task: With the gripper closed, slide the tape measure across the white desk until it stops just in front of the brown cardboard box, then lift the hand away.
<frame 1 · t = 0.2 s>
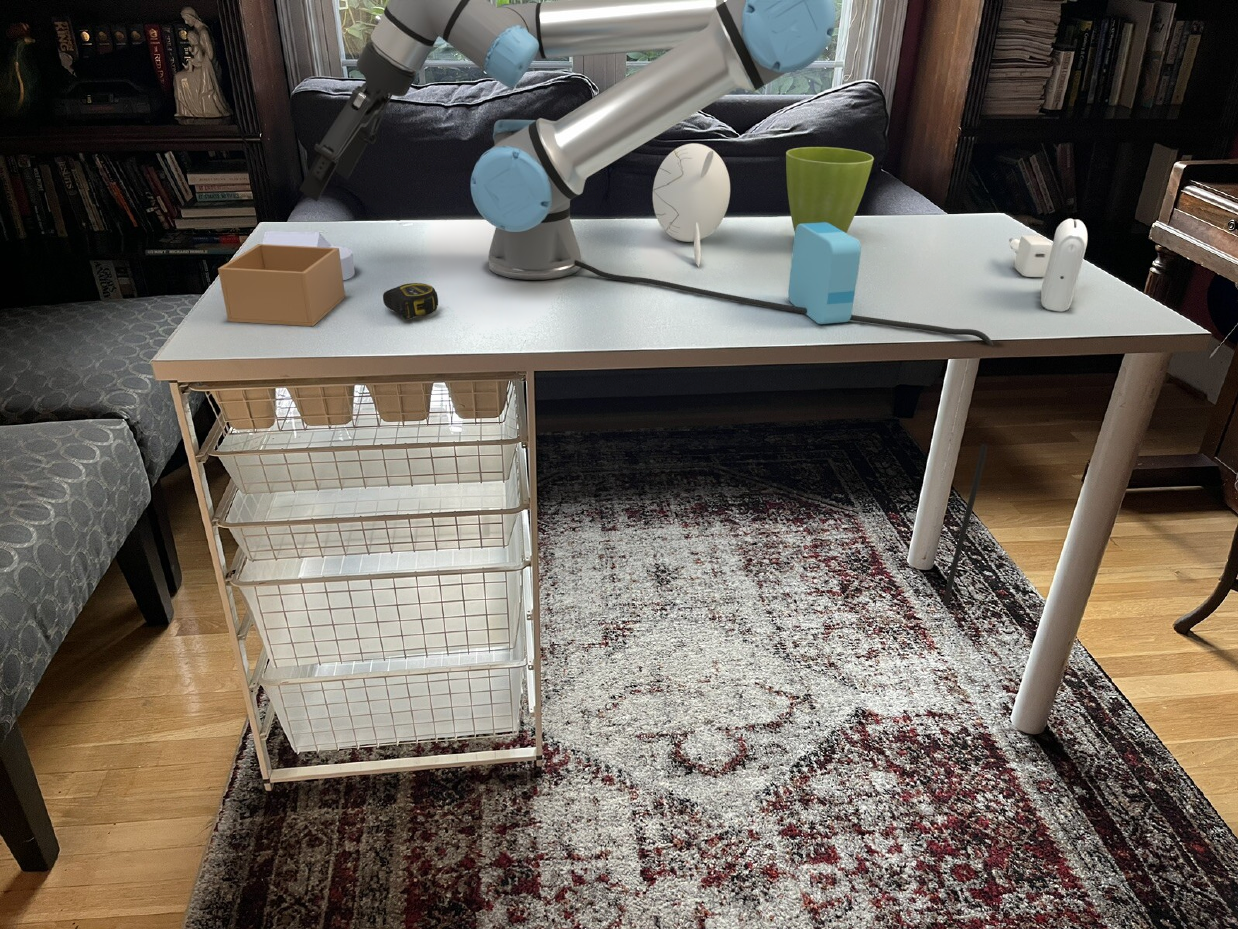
hand: (324, 183, 135), 15 cm above the table, tool tilted 35°, fingers open, 13 cm apart
box: (288, 309, 132), on the table
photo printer: (1054, 302, 142), on the table
wedge on round base: (313, 275, 146), on the table
power adapter: (1023, 269, 157), on the table
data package: (817, 313, 135), on the table
tape measure: (411, 317, 131), on the table
cracked egg ornament: (690, 246, 165), on the table
flower pot: (818, 247, 166), on the table
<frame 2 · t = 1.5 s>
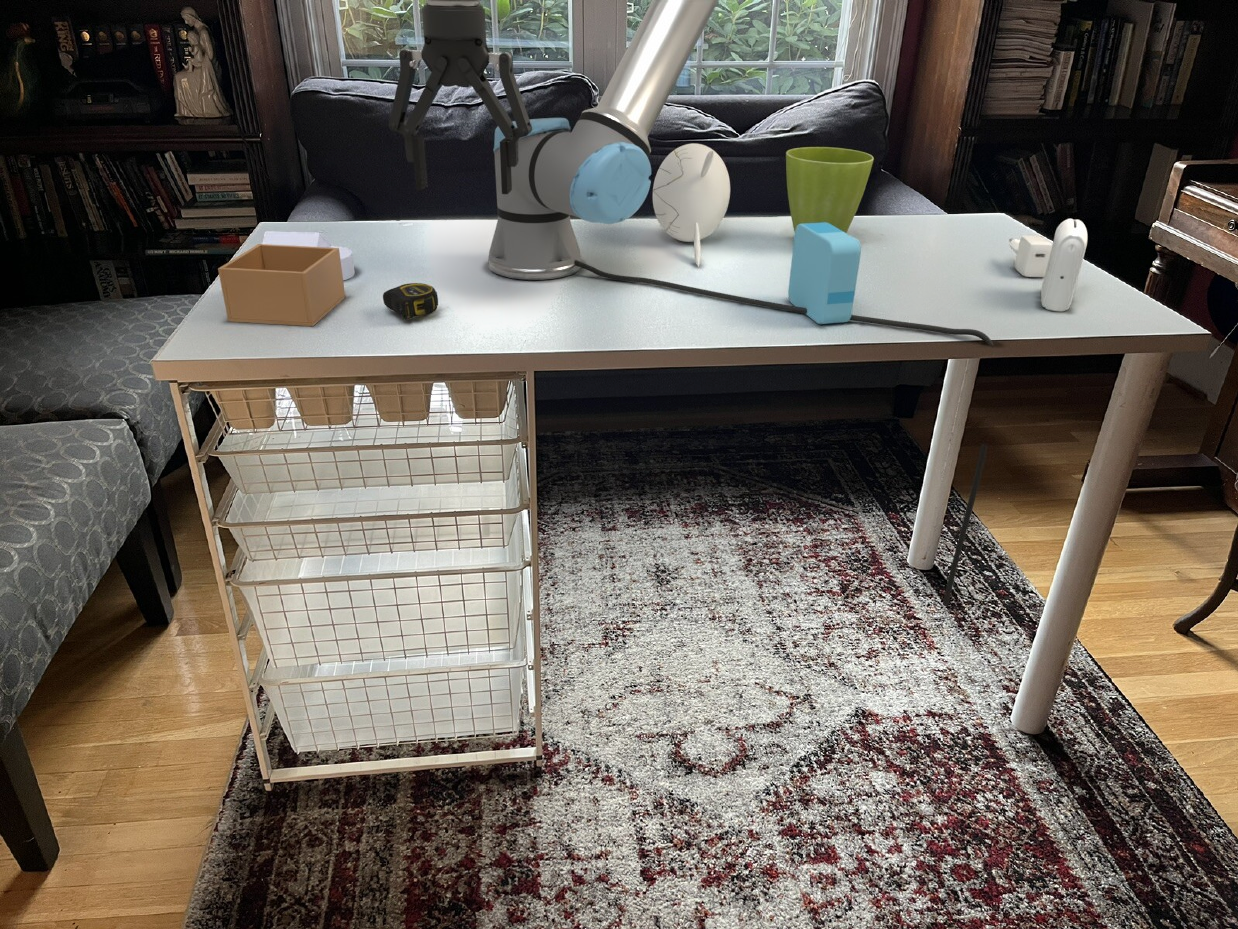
hand: (464, 189, 121), 18 cm above the table, tool pointing down, fingers open, 11 cm apart
nothing on the table moved.
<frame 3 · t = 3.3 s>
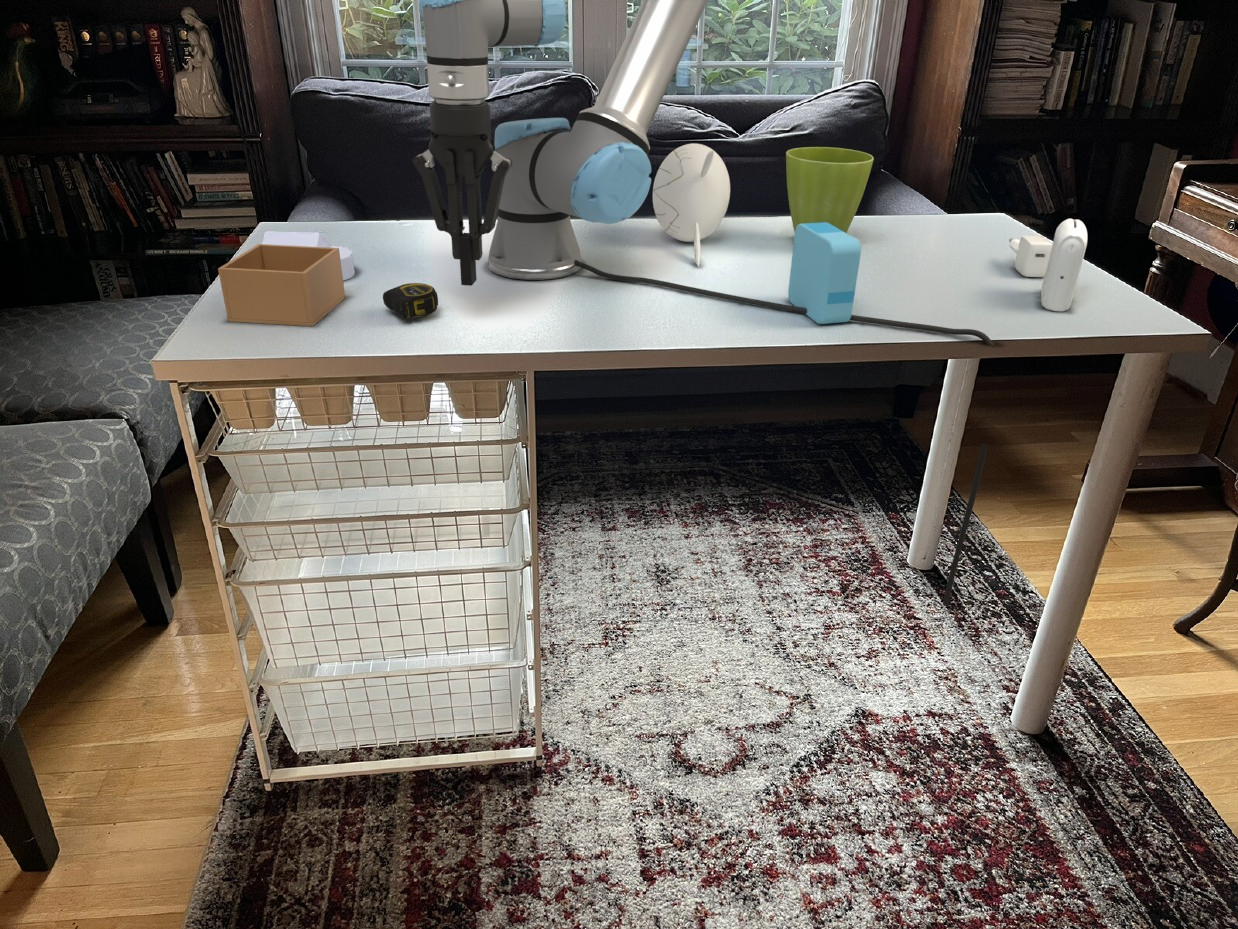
hand: (469, 282, 127), 6 cm above the table, tool pointing down, fingers closed
nothing on the table moved.
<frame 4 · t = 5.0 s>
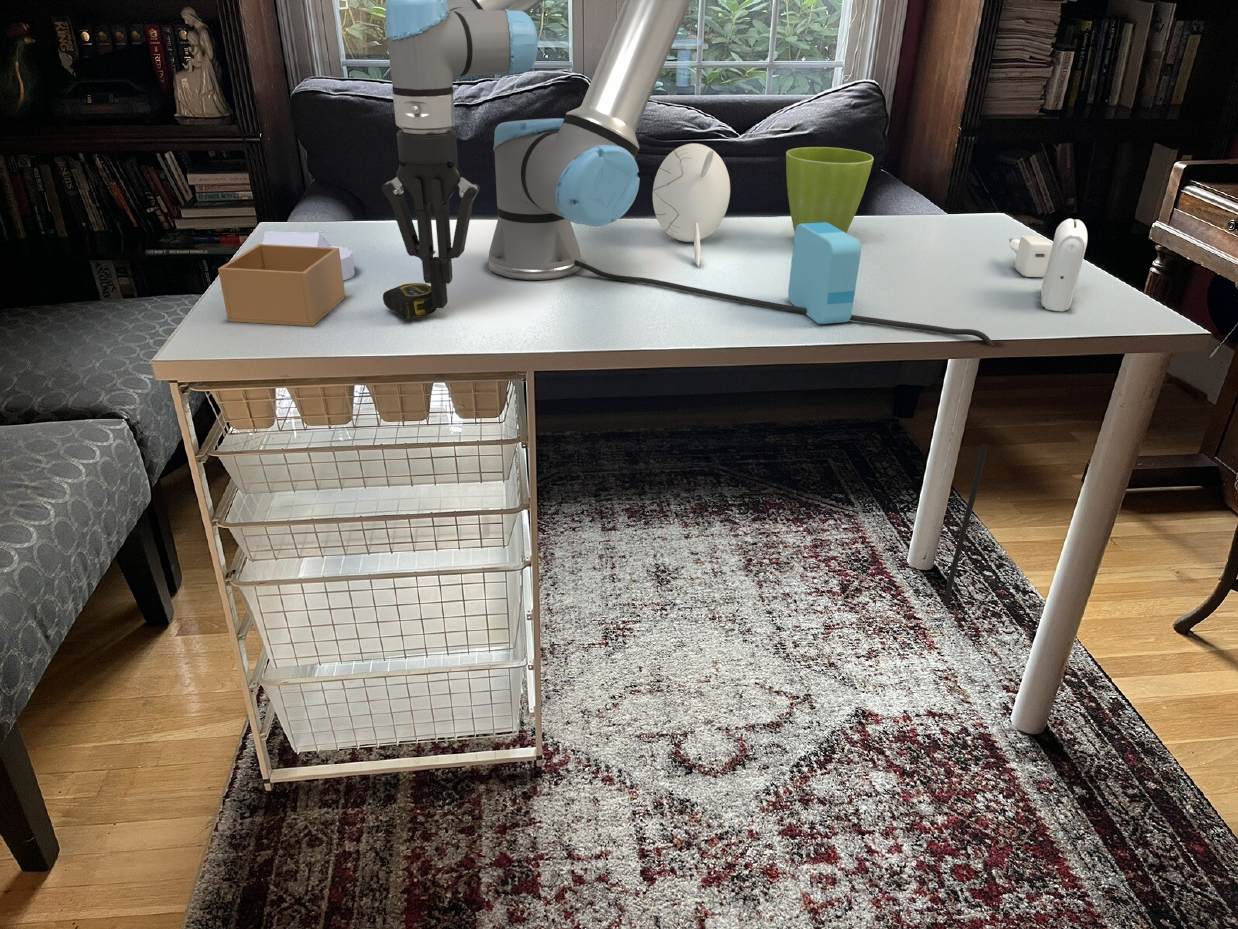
hand: (440, 304, 129), 2 cm above the table, tool pointing down, fingers closed
tape measure: (411, 317, 131), on the table, touching gripper
everything else where it was.
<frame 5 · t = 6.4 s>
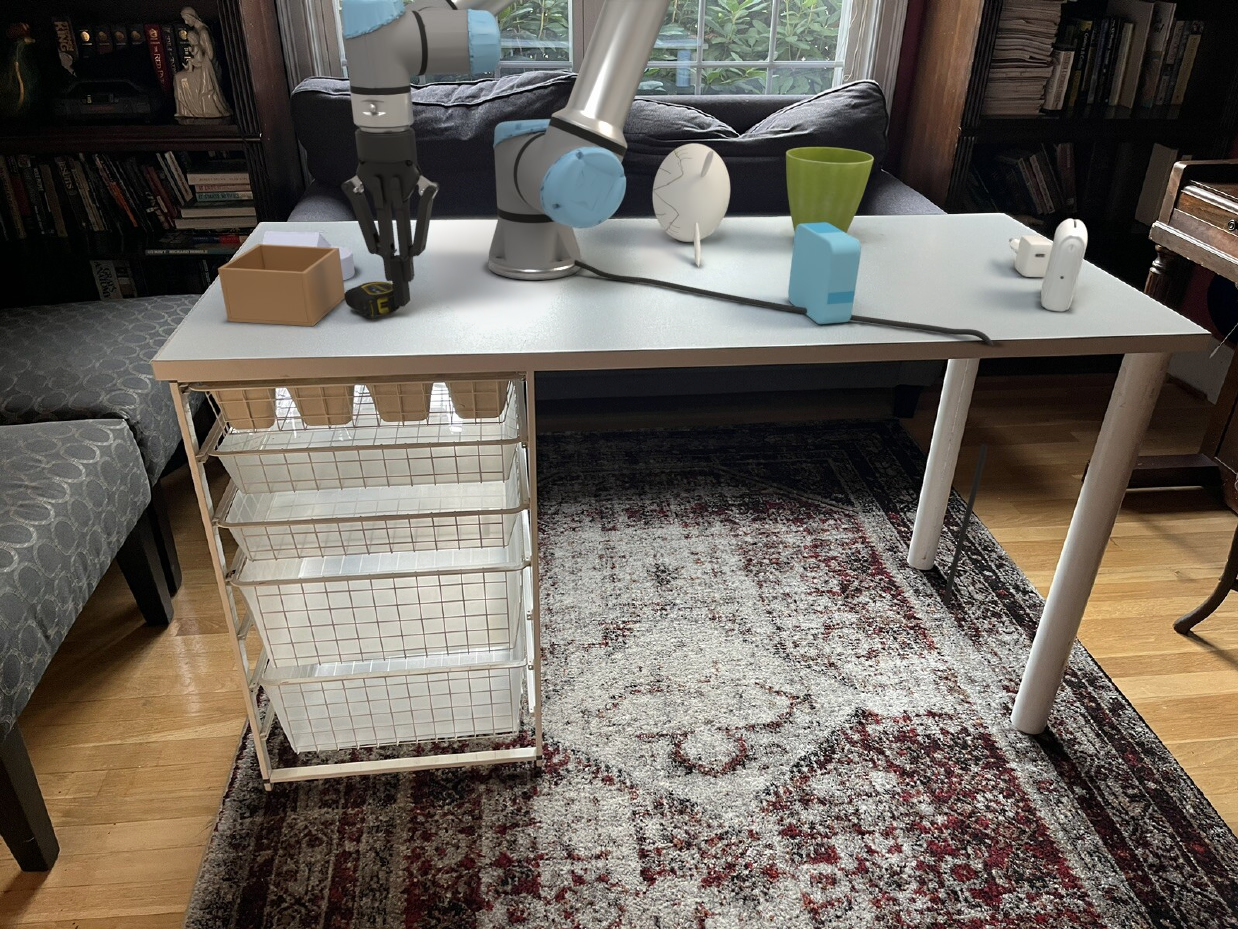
hand: (402, 302, 130), 2 cm above the table, tool pointing down, fingers closed
tape measure: (374, 315, 131), on the table, touching gripper
everything else where it was.
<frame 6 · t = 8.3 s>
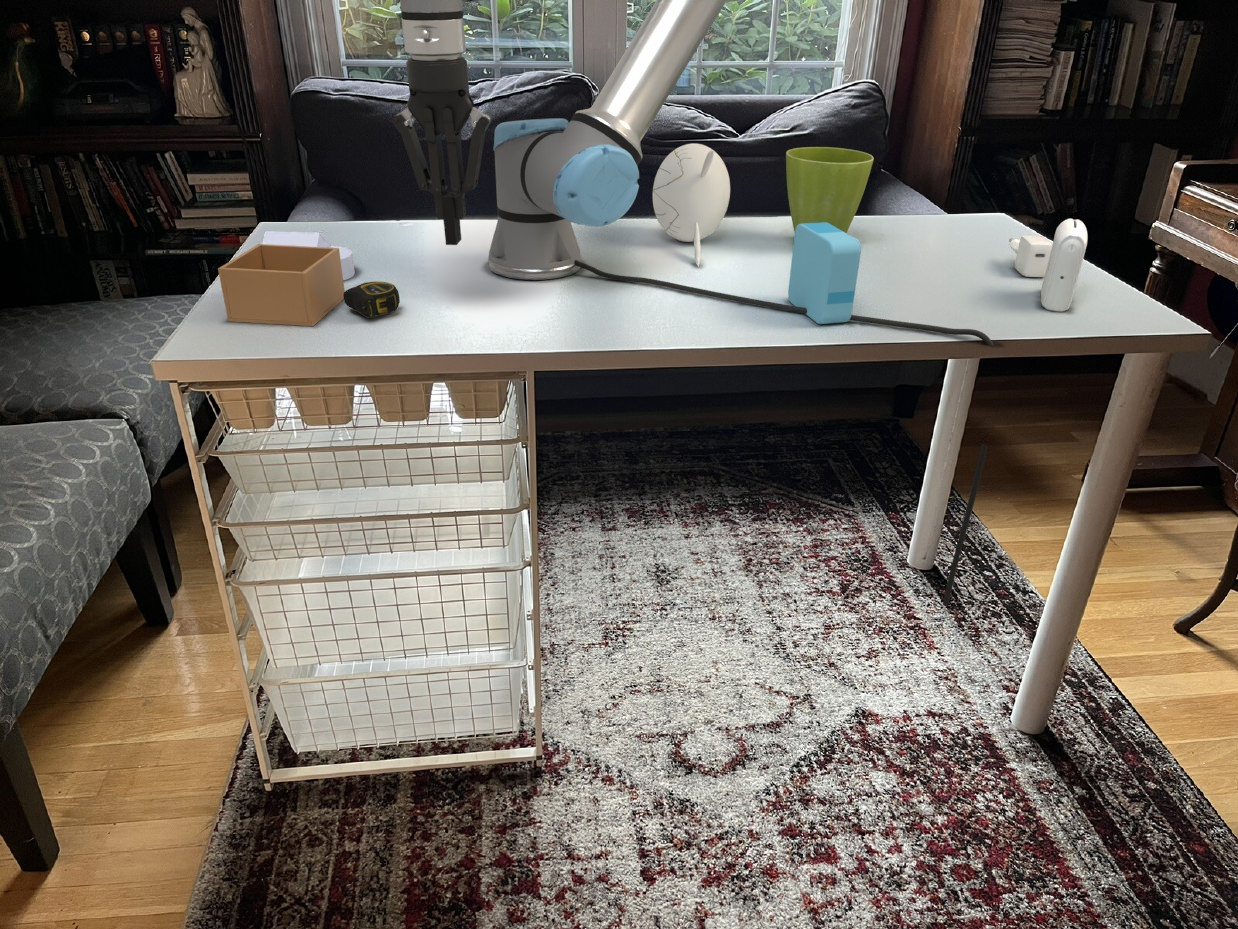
hand: (453, 241, 127), 10 cm above the table, tool pointing down, fingers closed
tape measure: (372, 315, 131), on the table
everything else where it was.
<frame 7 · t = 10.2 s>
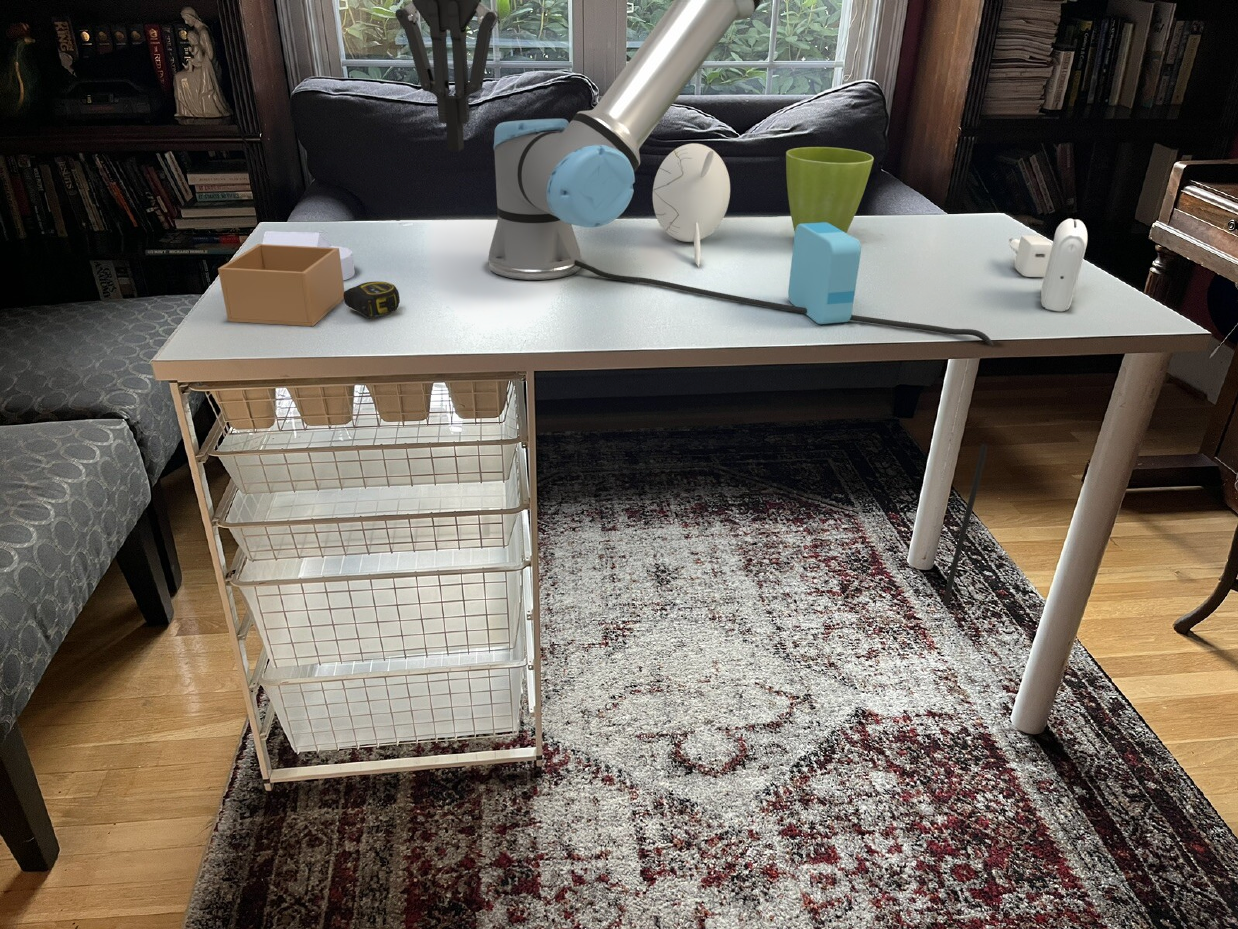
hand: (456, 148, 122), 22 cm above the table, tool pointing down, fingers closed
nothing on the table moved.
at the end: tape measure moved 5.5 cm from its start; tape measure inside the target area (2.5 cm from its centre), on the table; tape measure 12.5 cm from the box (horizontally) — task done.
